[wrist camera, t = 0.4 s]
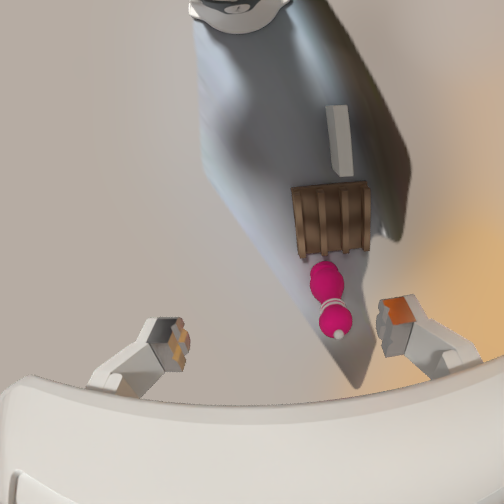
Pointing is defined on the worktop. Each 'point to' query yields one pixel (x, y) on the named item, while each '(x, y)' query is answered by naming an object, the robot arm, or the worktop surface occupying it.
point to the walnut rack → (332, 217)
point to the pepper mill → (330, 299)
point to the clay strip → (340, 139)
